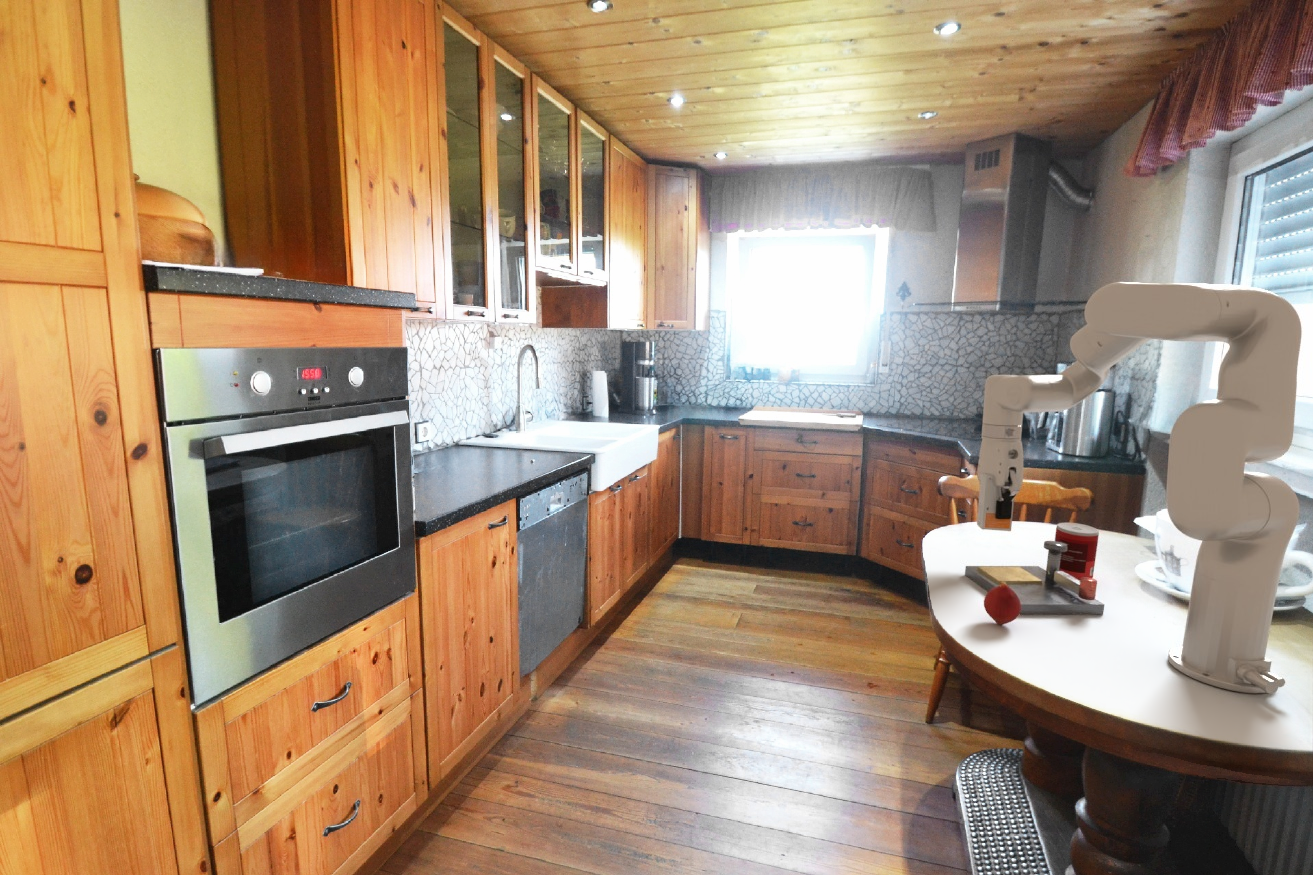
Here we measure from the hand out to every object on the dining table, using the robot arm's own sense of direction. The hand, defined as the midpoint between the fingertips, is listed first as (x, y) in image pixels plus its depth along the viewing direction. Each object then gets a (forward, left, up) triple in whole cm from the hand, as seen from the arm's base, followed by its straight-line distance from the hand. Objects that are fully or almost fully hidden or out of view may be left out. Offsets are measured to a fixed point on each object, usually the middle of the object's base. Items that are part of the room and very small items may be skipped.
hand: (995, 514), depth 143 cm
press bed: (-13, -1, -13) cm, 18 cm away
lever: (-19, -6, -10) cm, 22 cm away
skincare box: (0, 0, -3) cm, 3 cm away
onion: (-27, +13, -13) cm, 33 cm away
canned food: (-4, -16, -13) cm, 21 cm away
